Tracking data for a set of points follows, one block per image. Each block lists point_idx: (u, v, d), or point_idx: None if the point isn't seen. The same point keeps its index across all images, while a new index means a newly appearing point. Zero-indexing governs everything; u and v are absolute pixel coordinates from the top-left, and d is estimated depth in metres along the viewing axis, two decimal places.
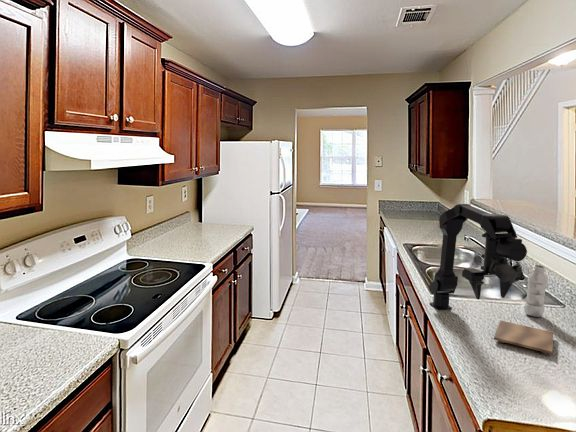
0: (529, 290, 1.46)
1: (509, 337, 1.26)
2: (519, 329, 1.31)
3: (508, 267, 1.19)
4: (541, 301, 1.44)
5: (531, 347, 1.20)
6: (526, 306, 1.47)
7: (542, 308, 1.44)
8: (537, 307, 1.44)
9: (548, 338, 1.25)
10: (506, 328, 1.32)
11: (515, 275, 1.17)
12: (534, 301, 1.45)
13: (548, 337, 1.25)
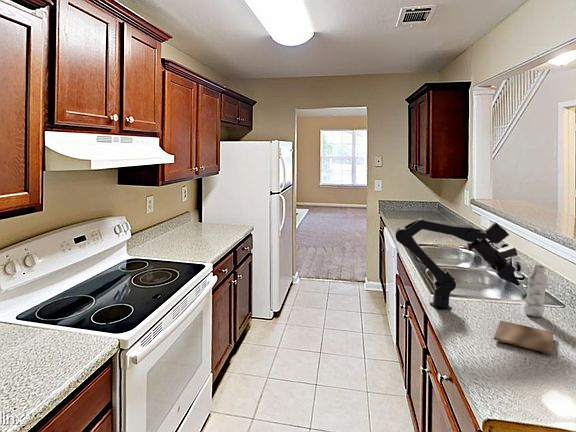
0: (529, 290, 1.46)
1: (509, 337, 1.26)
2: (519, 329, 1.31)
3: (503, 248, 1.47)
4: (541, 301, 1.44)
5: (531, 347, 1.20)
6: (526, 306, 1.47)
7: (542, 308, 1.44)
8: (537, 307, 1.44)
9: (548, 338, 1.25)
10: (506, 328, 1.32)
11: None
12: (534, 301, 1.45)
13: (548, 337, 1.25)
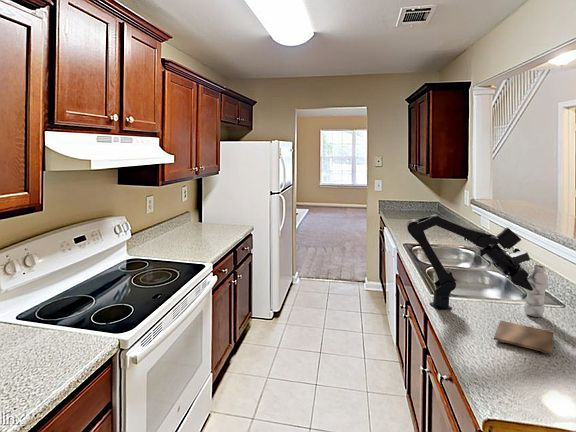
0: (529, 290, 1.46)
1: (509, 337, 1.26)
2: (519, 329, 1.31)
3: (515, 253, 1.47)
4: (541, 301, 1.44)
5: (531, 347, 1.20)
6: (526, 306, 1.47)
7: (542, 308, 1.44)
8: (537, 307, 1.44)
9: (548, 338, 1.25)
10: (506, 328, 1.32)
11: None
12: (534, 301, 1.45)
13: (548, 337, 1.25)
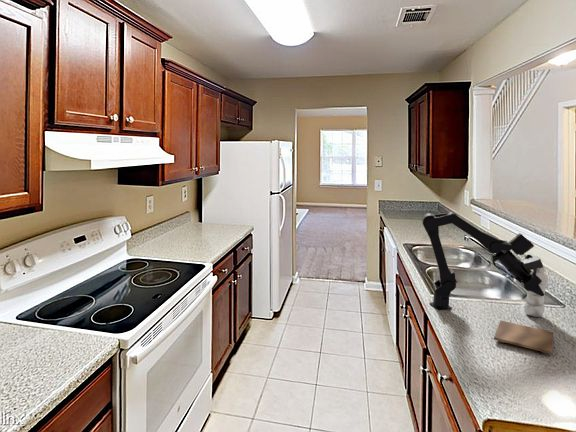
0: None
1: (509, 337, 1.26)
2: (519, 329, 1.31)
3: (528, 259, 1.46)
4: (541, 301, 1.44)
5: (531, 347, 1.20)
6: (526, 306, 1.47)
7: (542, 308, 1.44)
8: (537, 307, 1.44)
9: (548, 338, 1.25)
10: (506, 328, 1.32)
11: None
12: (534, 301, 1.45)
13: (548, 337, 1.25)
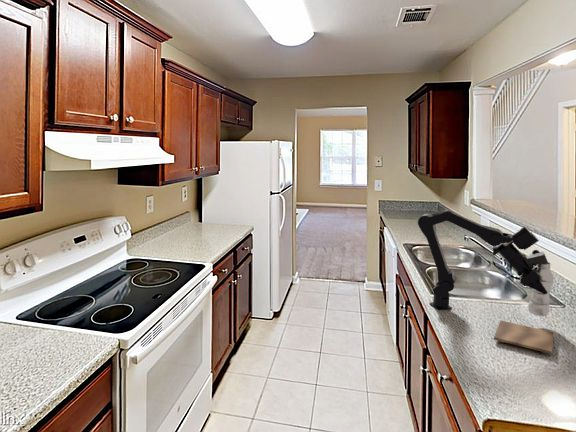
0: None
1: (509, 337, 1.26)
2: (519, 329, 1.31)
3: (533, 254, 1.38)
4: (545, 300, 1.36)
5: (531, 347, 1.20)
6: (529, 304, 1.40)
7: (546, 307, 1.36)
8: (540, 305, 1.36)
9: (548, 338, 1.25)
10: (506, 328, 1.32)
11: None
12: (537, 299, 1.37)
13: (548, 337, 1.25)
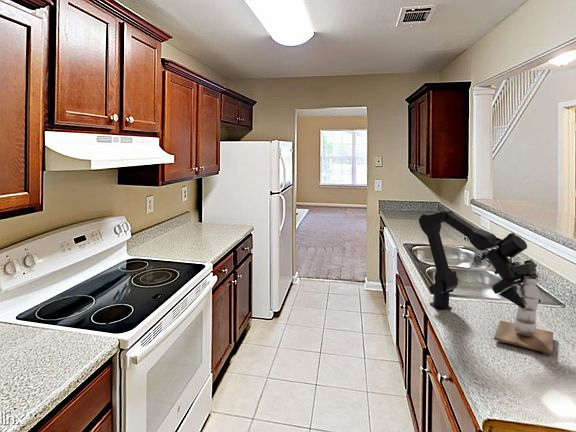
0: None
1: (509, 337, 1.26)
2: None
3: (522, 264, 1.27)
4: (527, 318, 1.24)
5: (531, 347, 1.20)
6: (515, 320, 1.29)
7: (527, 326, 1.24)
8: (520, 323, 1.26)
9: (548, 338, 1.25)
10: (506, 328, 1.32)
11: (533, 264, 1.25)
12: (519, 315, 1.26)
13: (548, 337, 1.25)
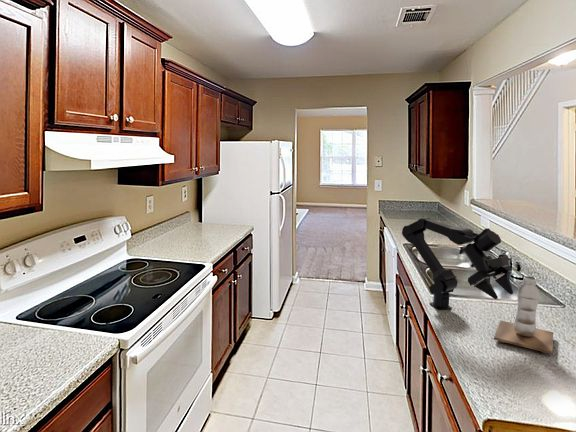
0: None
1: (509, 337, 1.26)
2: None
3: None
4: (527, 319, 1.24)
5: (531, 347, 1.20)
6: (514, 321, 1.29)
7: (527, 326, 1.24)
8: (520, 323, 1.25)
9: (548, 338, 1.25)
10: (506, 328, 1.32)
11: (506, 258, 1.32)
12: (518, 316, 1.26)
13: (548, 337, 1.25)
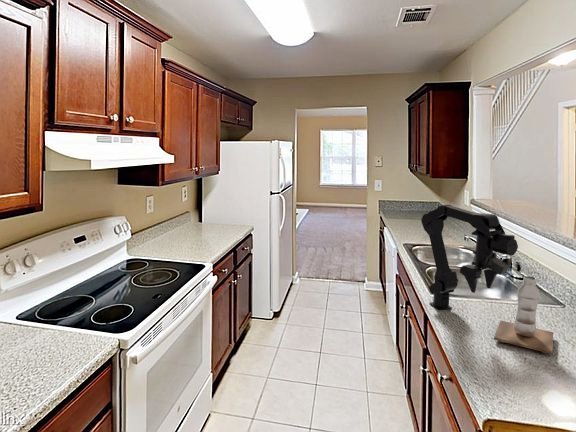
0: None
1: (509, 337, 1.26)
2: None
3: (500, 261, 1.32)
4: (527, 319, 1.24)
5: (531, 347, 1.20)
6: (514, 321, 1.29)
7: (527, 326, 1.24)
8: (520, 323, 1.25)
9: (548, 338, 1.25)
10: (506, 328, 1.32)
11: (508, 267, 1.30)
12: (518, 316, 1.26)
13: (548, 337, 1.25)
